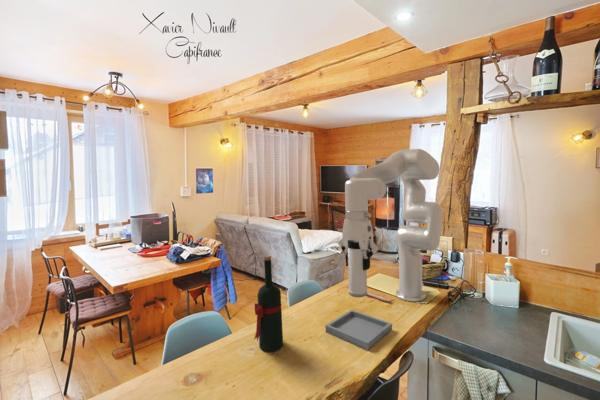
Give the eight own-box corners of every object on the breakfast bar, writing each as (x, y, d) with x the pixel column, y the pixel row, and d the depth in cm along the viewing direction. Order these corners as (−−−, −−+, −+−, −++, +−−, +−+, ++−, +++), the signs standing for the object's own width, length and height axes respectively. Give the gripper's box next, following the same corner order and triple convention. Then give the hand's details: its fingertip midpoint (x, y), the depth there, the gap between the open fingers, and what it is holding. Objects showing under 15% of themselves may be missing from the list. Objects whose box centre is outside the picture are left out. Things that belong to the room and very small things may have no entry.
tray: (351, 315, 117) (351, 309, 117) (392, 330, 106) (391, 323, 105) (325, 332, 106) (325, 325, 106) (367, 350, 94) (367, 343, 94)
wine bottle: (248, 348, 97) (244, 258, 95) (272, 336, 105) (268, 251, 102) (264, 358, 92) (259, 263, 89) (288, 344, 99) (284, 255, 96)
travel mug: (368, 291, 106) (368, 235, 104) (364, 298, 100) (363, 240, 98) (351, 289, 109) (350, 234, 107) (346, 296, 103) (345, 238, 101)
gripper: (385, 216, 99) (385, 269, 100) (342, 212, 111) (343, 260, 112) (373, 219, 93) (374, 275, 95) (329, 215, 105) (331, 265, 107)
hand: (357, 266), depth 104 cm, fingers closed on travel mug, 6 cm apart
